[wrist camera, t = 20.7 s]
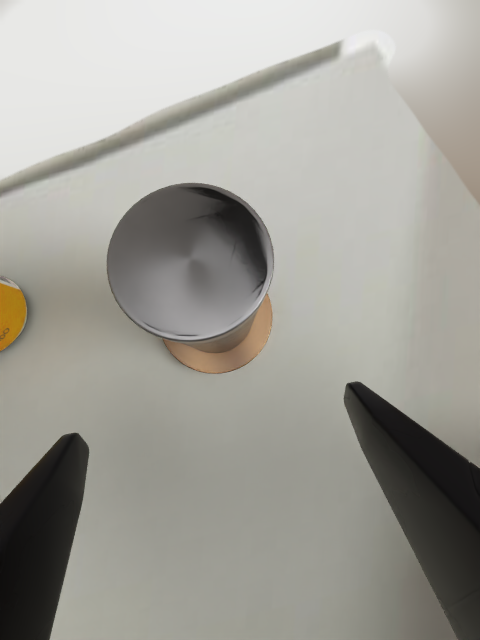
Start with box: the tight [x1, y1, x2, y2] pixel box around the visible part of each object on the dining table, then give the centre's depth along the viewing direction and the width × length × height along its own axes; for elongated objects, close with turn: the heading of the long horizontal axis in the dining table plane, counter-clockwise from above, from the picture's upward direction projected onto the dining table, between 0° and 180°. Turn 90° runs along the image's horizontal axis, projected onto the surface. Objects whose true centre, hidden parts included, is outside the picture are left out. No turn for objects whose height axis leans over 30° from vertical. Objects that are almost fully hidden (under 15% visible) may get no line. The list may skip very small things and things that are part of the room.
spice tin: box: [107, 183, 274, 353], centre depth 15 cm, size 6×6×11 cm
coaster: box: [162, 294, 272, 373], centre depth 21 cm, size 8×8×1 cm
